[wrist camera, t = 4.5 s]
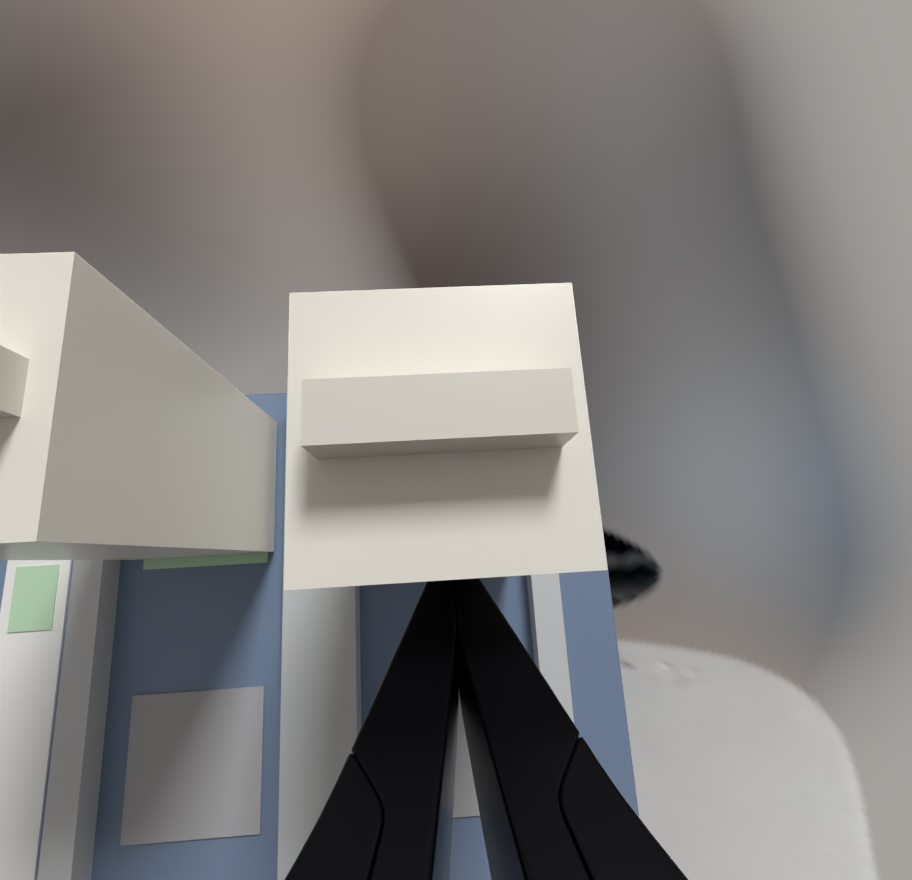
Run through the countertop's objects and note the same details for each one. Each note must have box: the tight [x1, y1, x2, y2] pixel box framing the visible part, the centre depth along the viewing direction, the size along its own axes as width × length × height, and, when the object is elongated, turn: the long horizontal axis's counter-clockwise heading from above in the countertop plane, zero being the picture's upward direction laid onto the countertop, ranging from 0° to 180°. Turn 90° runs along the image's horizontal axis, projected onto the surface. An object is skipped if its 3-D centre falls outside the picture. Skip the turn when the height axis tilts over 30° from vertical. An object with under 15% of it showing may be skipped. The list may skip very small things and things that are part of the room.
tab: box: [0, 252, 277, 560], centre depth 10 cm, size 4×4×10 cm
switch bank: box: [0, 383, 639, 880], centre depth 14 cm, size 17×18×2 cm
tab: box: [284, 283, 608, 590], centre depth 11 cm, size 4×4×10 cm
